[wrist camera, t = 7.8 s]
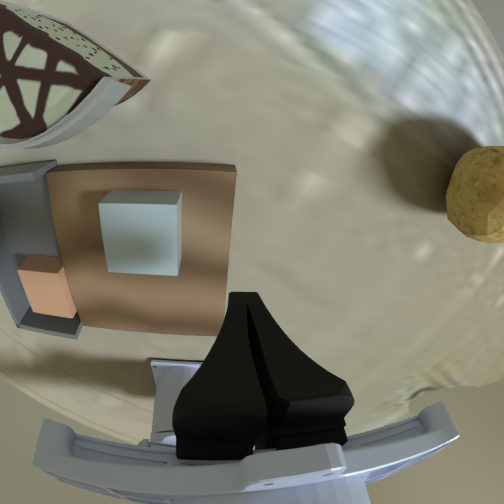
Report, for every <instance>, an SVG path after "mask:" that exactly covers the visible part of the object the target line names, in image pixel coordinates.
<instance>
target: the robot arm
mask: <svg viewBox="0 0 504 504" xmlns="http://www.w3.org/2000/svg"><path fill="white" fill-rule="evenodd" d="M150 365H151V369H152V372H153V376H154V380H155V384H156V393H155V402H154V412H153V423H152V432H151V437H150V442H149V439H143V441H141V442H139V443H138V446H136V445H129V444H123V443H117V442H112V441H106V440H102V439H97V438H93V437H88V436H84V435H80V434H76V433H75V432H74V431H73V429H72V428H70V427H69V426H67V425H65V424H62V423H58V422H55V421H52V420H49V419H43V422H42V426H41V430H40V434H39V438H38V442H37V446H36V451H35V456H34V460H33V465H34V466H36V467H37V468H39V469H41V470H42V471H44V472H45V473H47V474H49V475H50V476H52V477H54V478H56V479H58V480H59V481H62V482H65V483H67V484H70V485H74V486H77V487H80V488H83V489H87V490H90V491H93V492H96V493H100V494H103V495H107V496H111V497H115V498H119V499H124V500H128V501H133V502H138V503H140V504H371V503H370V500H369V496H368V493H367V489H366V486H365V485H366V484H369V483H372V482H375V481H377V480H380V479H382V478H385V477H387V476H389V475H392V474H394V473H397V472H399V471H401V470H403V469H405V468H408V467H410V466H412V465H414V464H416V463H418V462H420V461H423V460H425V459H427V458H429V457H431V456H432V455H434V454H436V453H437V452H438V451H440V450H441V449H443V448H444V447H446V446H447V445H448V444H449V443H451V442H452V441H454V440H455V439H456V438H457V437H459V433H458V431H457V429H456V427H455V425H454V423H453V420H452V418H451V417H450V415H449V412H448V410H447V409H446V407H445V405H444V403H443V401H440V402H437V403H435V404H432V405H430V406H428V407H426V408H425V409H423V410H422V411H421V412H420V413H419V414H418V415H417V416H414V417H412V418H409V419H406V420H403V421H400V422H397V423H394V424H391V425H388V426H385V427H381V428H378V429H374V430H371V431H367V432H363V433H359V434H355V435H351V436H346V433H345V430H344V427H345V426H346V423H345V420H344V417H345V416H346V414H347V413H348V412H349V411H350V409H351V408H352V406H353V405H354V398H353V396H352V393H351V391H350V389H349V387H348V385H347V383H346V381H344V380H342V379H340V378H339V377H337V376H335V375H333V374H332V373H330V372H328V371H327V370H325V369H324V368H322V367H321V366H320V365H318V364H317V363H316V362H314V361H313V360H312V359H311V358H309V357H308V356H307V355H306V354H305V353H303V352H302V351H301V350H300V349H299V348H298V347H297V346H296V345H295V344H294V343H293V342H292V341H291V340H290V339H289V337H288V336H287V335H286V334H285V333H284V332H283V330H282V329H281V328H280V327H279V325H278V324H277V323H276V321H275V320H274V318H273V317H272V316H271V314H270V313H269V311H268V309H267V308H266V306H265V305H264V303H263V301H262V300H261V298H260V296H259V294H258V293H257V292H230V293H229V298H228V308H227V312H226V315H225V318H224V322H223V324H222V327H221V329H220V332H219V334H218V336H217V338H216V340H215V342H214V344H213V346H212V348H211V350H210V352H209V353H208V355H207V357H206V358H205V360H204V361H203V362H184V361H167V360H151V362H150ZM254 445H255V450H253V447H254Z"/></svg>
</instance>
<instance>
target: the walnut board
mask: <svg viewBox="0 0 504 504" xmlns="http://www.w3.org/2000/svg"><path fill="white" fill-rule="evenodd" d="M236 175H237V171H236V167H235V165H222V164H204V163H176V162H117V163H91V164H74V165H60V166H58V167H56V168H54V169H53V170H51V171H49V172H47V177H48V186H49V194H50V201H51V208H52V214H53V220H54V225H55V230H56V235H57V240H58V244H59V249H60V253H61V257H62V261H63V265H64V269H65V273H66V276H67V280H68V283H69V287H70V290H71V293H72V296H73V299H74V303H75V306H76V309H77V311H78V314H79V317H80V320H81V323H82V325H83V326H90V327H98V328H106V329H115V330H124V331H135V332H146V333H159V334H175V335H195V336H218V334H219V332H220V329H221V327H222V324H223V322H224V311H225V298H226V285H227V272H228V260H229V249H230V237H231V226H232V215H233V205H234V195H235V184H236ZM111 190H150V191H182V208H181V253H182V257H181V262H180V267H179V272H178V276H168V275H149V274H132V273H116V272H108V268H107V262H106V256H105V250H104V244H103V237H102V230H101V222H100V214H99V204H98V203H99V202H100V201H101V200H102V199H103V198H104V197H105V196H106V195H107V194H108V193H109V192H110V191H111Z"/></svg>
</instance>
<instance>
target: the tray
mask: <svg viewBox="0 0 504 504" xmlns="http://www.w3.org/2000/svg"><path fill="white" fill-rule="evenodd" d="M56 167H57V162H56V160H49V161H40V162H32V163H24V164H17V165H10V166H4V167H0V291H1V293H2V296H3V298H4V300H5V303H6V305H7V307H8V309H9V311H10V313H11V315H12V318H13V320H14V322H15V324H16V326H17V328H22V329H26V330H30V331H35V332H40V333H44V334H49V335H55V336H60V337H65V338H71V339H77V338H78V335H79V333H80V331H81V328H82V326H83V325H82V323H81V320H80V317H79V314H78V311H76V313H75V315H74V317H73V318H66V317H60V316H53V315H47V314H41V313H36V312H33V310H32V308H31V305H30V303H29V300H28V298H27V295H26V293H25V290H24V288H23V285H22V282H21V279H20V277H19V274H18V271H17V269H18V268H19V267H20V265H21V264H22V263H23V262H24V261H25V260H26V258H27V257H28V256H29V255H38V256H53V257H61V253H60V249H59V244H58V240H57V235H56V230H55V225H54V220H53V214H52V208H51V201H50V194H49V186H48V177H47V172H49V171H51V170H53V169H54V168H56Z"/></svg>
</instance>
